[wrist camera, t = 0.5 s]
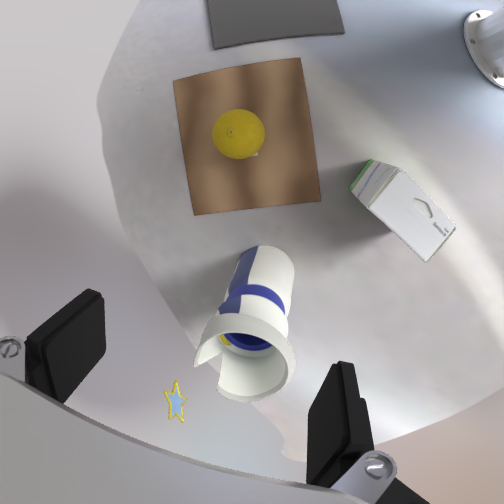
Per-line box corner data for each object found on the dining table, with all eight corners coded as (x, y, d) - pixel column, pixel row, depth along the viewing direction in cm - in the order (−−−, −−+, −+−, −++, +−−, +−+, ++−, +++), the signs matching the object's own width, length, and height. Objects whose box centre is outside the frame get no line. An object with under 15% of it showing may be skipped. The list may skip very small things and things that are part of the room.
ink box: (418, 201, 35) (461, 224, 24) (394, 232, 37) (428, 266, 26) (370, 157, 34) (401, 162, 23) (344, 189, 36) (365, 208, 25)
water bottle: (258, 313, 43) (218, 467, 20) (221, 265, 41) (139, 399, 18) (309, 284, 41) (314, 441, 17) (272, 232, 39) (235, 358, 16)
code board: (300, 57, 32) (300, 57, 31) (320, 200, 37) (320, 201, 37) (173, 81, 34) (172, 80, 34) (194, 215, 40) (194, 215, 40)
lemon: (245, 104, 34) (231, 93, 27) (277, 136, 35) (272, 132, 28) (213, 135, 36) (191, 133, 28) (244, 167, 37) (230, 172, 29)
